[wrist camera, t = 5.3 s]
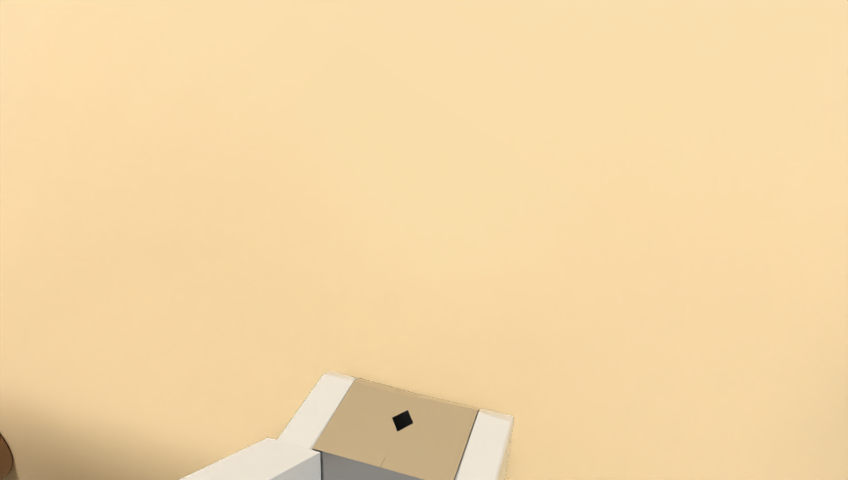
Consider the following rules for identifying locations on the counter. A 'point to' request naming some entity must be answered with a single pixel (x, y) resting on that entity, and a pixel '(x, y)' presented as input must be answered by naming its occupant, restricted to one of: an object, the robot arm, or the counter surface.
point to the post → (4, 459)
